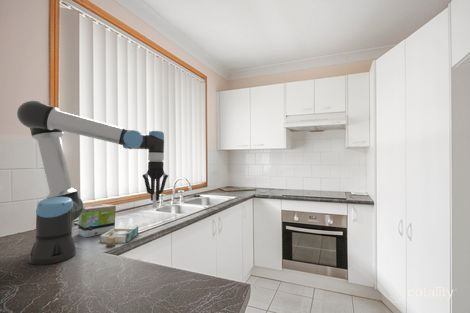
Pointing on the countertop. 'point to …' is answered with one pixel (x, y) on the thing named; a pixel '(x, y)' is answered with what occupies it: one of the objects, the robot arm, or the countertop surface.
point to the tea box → (96, 220)
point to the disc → (120, 233)
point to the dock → (117, 238)
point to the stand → (110, 242)
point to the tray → (128, 234)
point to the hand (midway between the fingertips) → (154, 207)
